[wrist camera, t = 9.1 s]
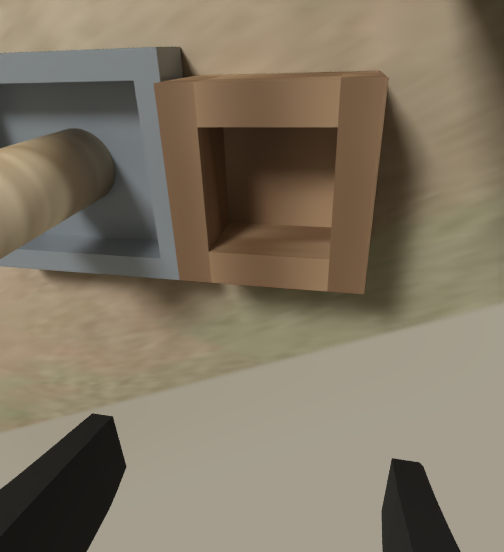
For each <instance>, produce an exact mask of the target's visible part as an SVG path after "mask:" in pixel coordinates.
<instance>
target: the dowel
mask: <svg viewBox="0 0 504 552" xmlns="http://www.w3.org/2000/svg"><path fill="white" fill-rule="evenodd" d="M114 181H115V165H114V161H113V159H112V156H111V154H110V152H109V150H108V149H107V147H106V146H105V145H104V144H103V142H102V141H101V140H100V139H98V138H97V137H96V136H95V135H93V134H92V133H90V132H88V131H85V130H83V129H78V128H69V129H65V130H62V131H58V132H55V133H52V134H48V135H45V136H41V137H38V138H34V139H31V140H27V141H24V142H21V143H17V144H14V145H10V146H7V147H3V148H0V259H1V258H3V257H5V256H6V255H8V254H10V253H11V252H13V251H15V250H16V249H18V248H20V247H21V246H23V245H25V244H26V243H28V242H30V241H31V240H33V239H34V238H36V237H38V236H39V235H41V234H43V233H44V232H46V231H48V230H49V229H51V228H53V227H54V226H56V225H58V224H59V223H61V222H63V221H64V220H66V219H68V218H69V217H71V216H72V215H74V214H76V213H77V212H79V211H81V210H82V209H84V208H86V207H87V206H89V205H91V204H92V203H94V202H96V201H97V200H99V199H101V198H102V197H104V196H105V195H107V194H108V193H109V192H110V190H111V189H112V187H113V184H114Z"/></svg>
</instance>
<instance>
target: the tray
mask: <svg viewBox="0 0 504 552" xmlns="http://www.w3.org/2000/svg"><path fill="white" fill-rule="evenodd" d="M179 78H183V71H182V61H181V51H180V47H144V48H119V49H94V50H69V51H44V52H19V53H0V148H3V147H7V146H10V145H14V144H17V143H21V142H24V141H27V140H31V139H34V138H38V137H41V136H45V135H48V134H52V133H55V132H58V131H62V130H65V129H69V128H78V129H83V130H85V131H88V132H90V133H92V134H93V135H95V136H96V137H97V138H98V139H100V140H101V141H102V142H103V144H104V145H105V146H106V147H107V149H108V150H109V152H110V154H111V156H112V159H113V161H114V165H115V181H114V184H113V187H112V189H111V190H110V192H109V193H108V194H107V195H105V196H104V197H102V198H101V199H99V200H97V201H96V202H94V203H92V204H91V205H89V206H87V207H86V208H84V209H82V210H81V211H79V212H77V213H76V214H74V215H72V216H71V217H69V218H68V219H66V220H64V221H63V222H61V223H59V224H58V225H56V226H54V227H53V228H51V229H49V230H48V231H46V232H44V233H43V234H41V235H39V236H38V237H36V238H34V239H33V240H31V241H30V242H28V243H26V244H25V245H23V246H21V247H20V248H18V249H16V250H15V251H13V252H11V253H10V254H8V255H6V256H5V257H3V258H1V259H0V266H3V267H16V268H29V269H42V270H55V271H68V272H81V273H94V274H107V275H120V276H133V277H146V278H159V279H172V280H179V272H178V264H177V257H176V249H175V242H174V234H173V227H172V219H171V212H170V204H169V197H168V189H167V181H166V174H165V166H164V159H163V151H162V144H161V136H160V129H159V121H158V114H157V106H156V98H155V91H154V83H158V82H163V81H169V80H174V79H179Z"/></svg>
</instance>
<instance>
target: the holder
mask: <svg viewBox="0 0 504 552" xmlns="http://www.w3.org/2000/svg"><path fill="white" fill-rule="evenodd" d="M388 80H389V78H388V77H387V76H385V75H384V74H383V73H382V72H381V71H358V72H318V73H278V74H238V75H198V76H190V77H185V78H179V79H174V80H169V81H163V82H158V83H154V91H155V98H156V106H157V114H158V121H159V129H160V136H161V144H162V151H163V159H164V166H165V174H166V181H167V189H168V197H169V204H170V212H171V219H172V227H173V234H174V242H175V249H176V257H177V264H178V272H179V280H184V281H197V282H210V283H223V284H236V285H249V286H262V287H275V288H288V289H301V290H314V291H327V292H340V293H353V294H364V291H365V282H366V273H367V264H368V256H369V247H370V238H371V229H372V220H373V212H374V203H375V194H376V185H377V177H378V168H379V159H380V150H381V141H382V133H383V124H384V115H385V106H386V98H387V89H388Z"/></svg>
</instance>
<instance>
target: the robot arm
mask: <svg viewBox="0 0 504 552" xmlns="http://www.w3.org/2000/svg"><path fill="white" fill-rule="evenodd" d="M125 469H126V464H125V460H124V456H123V453H122V449H121V445H120V441H119V438H118V434H117V431H116V427H115V423H114V419H113V417H112V416H106V415H99V414H91V415H90V416H89V417H88V418H86V419H85V420H84V421H83V422H82V423H80V424H79V425H78V426H77V427H76V428H75V429H73V430H72V431H71V432H70V433H68V434H67V435H66V436H65V437H64V438H62V439H61V440H60V441H59V442H58V443H57V444H55V445H54V446H53V447H52V448H51V449H50V450H48V451H47V452H46V453H45V454H43V455H42V456H41V457H40V458H39V459H37V460H36V461H35V462H34V463H33V464H31V465H30V466H29V467H28V468H26V469H25V470H24V471H23V472H22V473H20V474H19V475H18V476H17V477H15V478H14V479H13V480H12V481H10V482H9V483H8V484H7V485H5V486H4V487H3V488H2V489H0V552H86V551H87V550H88V548H89V546H90V544H91V542H92V541H93V539H94V537H95V535H96V533H97V531H98V529H99V527H100V525H101V524H102V522H103V520H104V518H105V516H106V514H107V512H108V510H109V508H110V506H111V504H112V502H113V499H114V497H115V494H116V492H117V490H118V487H119V484H120V482H121V479H122V477H123V474H124V471H125ZM382 545H383V552H460V550H459V548H458V546H457V544H456V542H455V540H454V537H453V535H452V533H451V531H450V529H449V527H448V525H447V523H446V520H445V518H444V516H443V514H442V511H441V509H440V507H439V505H438V502H437V500H436V498H435V495H434V493H433V490H432V488H431V485H430V483H429V480H428V478H427V475H426V472H425V470H424V467H423V466H422V465H421V464H420V463H419V462H413V461H406V460H399V459H393V458H392V461H391V466H390V471H389V476H388V481H387V487H386V492H385V497H384V502H383V507H382Z"/></svg>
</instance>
